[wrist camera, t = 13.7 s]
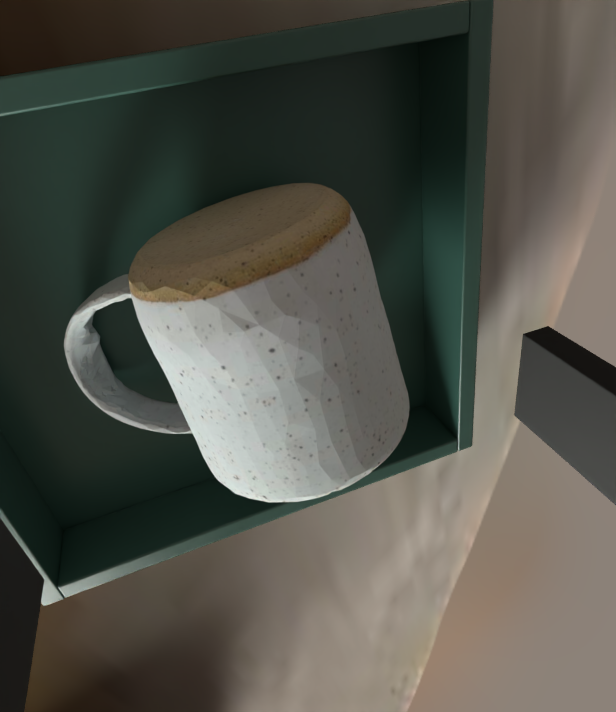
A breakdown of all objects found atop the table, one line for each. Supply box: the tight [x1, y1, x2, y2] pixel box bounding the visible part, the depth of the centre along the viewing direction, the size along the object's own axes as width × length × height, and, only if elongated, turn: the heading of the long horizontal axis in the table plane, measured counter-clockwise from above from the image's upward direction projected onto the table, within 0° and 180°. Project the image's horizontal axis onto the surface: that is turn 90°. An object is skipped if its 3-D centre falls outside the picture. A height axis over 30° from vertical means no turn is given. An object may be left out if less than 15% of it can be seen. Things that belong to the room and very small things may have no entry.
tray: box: [0, 0, 493, 606], centre depth 19 cm, size 20×18×4 cm
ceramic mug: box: [64, 183, 410, 502], centre depth 16 cm, size 11×8×8 cm
